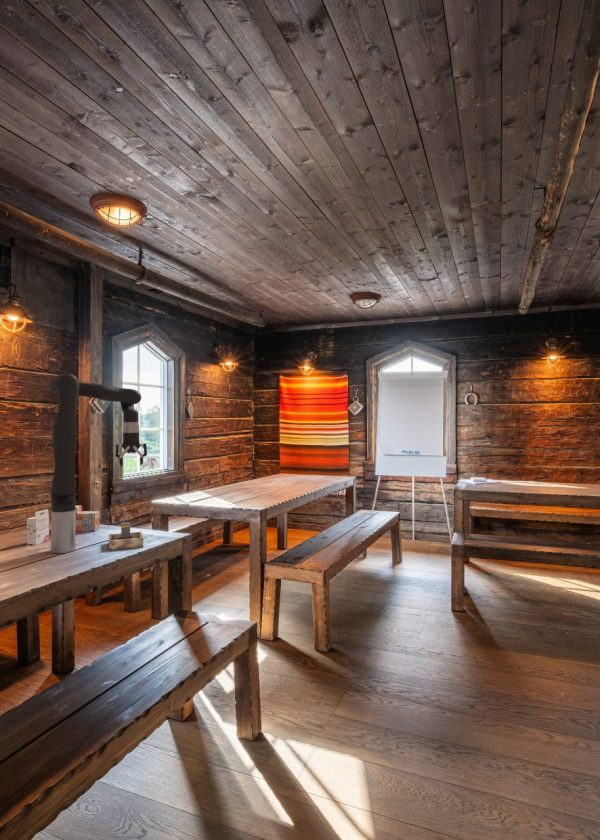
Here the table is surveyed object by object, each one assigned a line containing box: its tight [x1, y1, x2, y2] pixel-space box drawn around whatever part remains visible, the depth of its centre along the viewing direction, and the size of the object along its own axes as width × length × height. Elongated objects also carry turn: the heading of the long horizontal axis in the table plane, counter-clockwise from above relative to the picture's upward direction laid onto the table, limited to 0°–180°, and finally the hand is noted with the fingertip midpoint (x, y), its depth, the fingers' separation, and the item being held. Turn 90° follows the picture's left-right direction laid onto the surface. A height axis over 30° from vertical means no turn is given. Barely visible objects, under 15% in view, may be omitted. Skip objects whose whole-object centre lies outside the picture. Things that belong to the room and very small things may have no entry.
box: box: [108, 531, 144, 551], centre depth 216 cm, size 14×14×4 cm
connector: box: [120, 521, 131, 540], centre depth 216 cm, size 4×4×9 cm
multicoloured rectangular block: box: [76, 505, 101, 533], centre depth 246 cm, size 21×6×12 cm, turn 90°
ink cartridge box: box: [26, 508, 50, 546], centre depth 221 cm, size 9×5×15 cm, turn 168°
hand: (131, 465), depth 232 cm, fingers open, 8 cm apart
